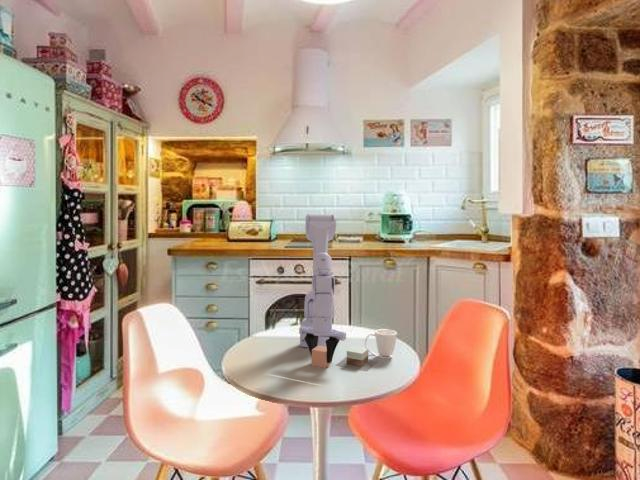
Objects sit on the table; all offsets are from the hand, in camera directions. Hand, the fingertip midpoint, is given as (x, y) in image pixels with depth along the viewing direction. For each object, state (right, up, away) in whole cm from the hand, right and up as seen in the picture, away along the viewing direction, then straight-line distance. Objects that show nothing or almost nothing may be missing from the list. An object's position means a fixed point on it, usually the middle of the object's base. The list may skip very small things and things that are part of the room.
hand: (321, 360), depth 141 cm
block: (0, -1, 0) cm, 1 cm away
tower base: (+11, -1, +2) cm, 11 cm away
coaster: (+11, -2, +2) cm, 11 cm away
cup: (+19, -1, +9) cm, 21 cm away
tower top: (+11, +1, +1) cm, 11 cm away
